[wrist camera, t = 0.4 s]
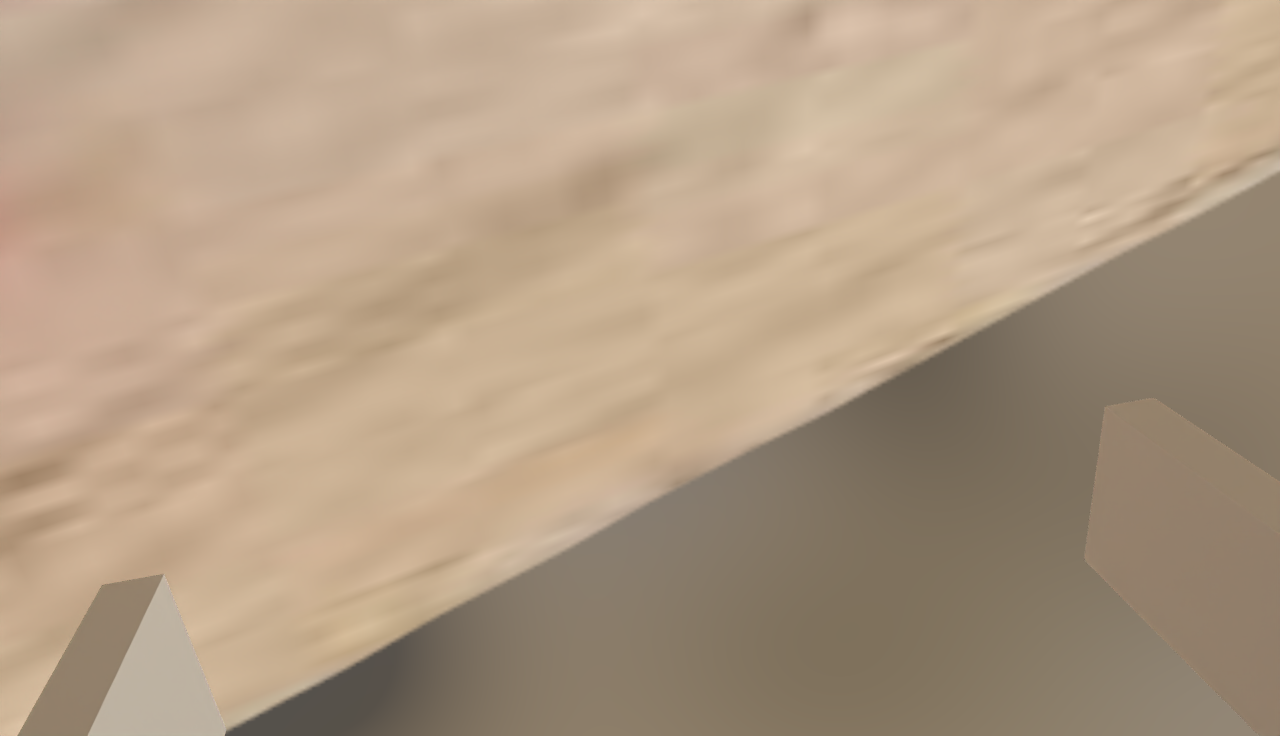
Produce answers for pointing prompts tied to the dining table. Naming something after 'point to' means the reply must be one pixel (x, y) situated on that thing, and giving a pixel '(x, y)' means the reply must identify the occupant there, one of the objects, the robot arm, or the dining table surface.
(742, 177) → the dining table surface
